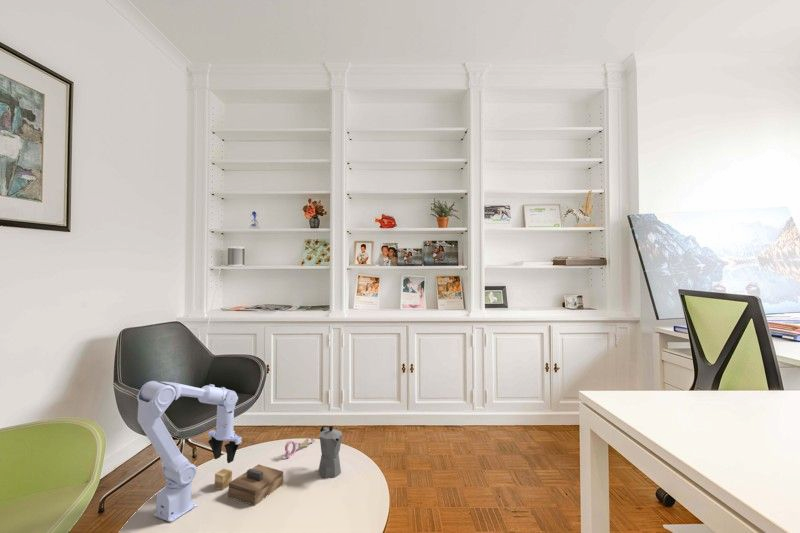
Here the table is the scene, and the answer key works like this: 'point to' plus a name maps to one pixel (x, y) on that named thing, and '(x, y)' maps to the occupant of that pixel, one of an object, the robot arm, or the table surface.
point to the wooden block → (223, 479)
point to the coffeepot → (330, 452)
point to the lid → (256, 479)
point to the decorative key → (296, 446)
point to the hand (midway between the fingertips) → (223, 459)
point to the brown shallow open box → (258, 496)
